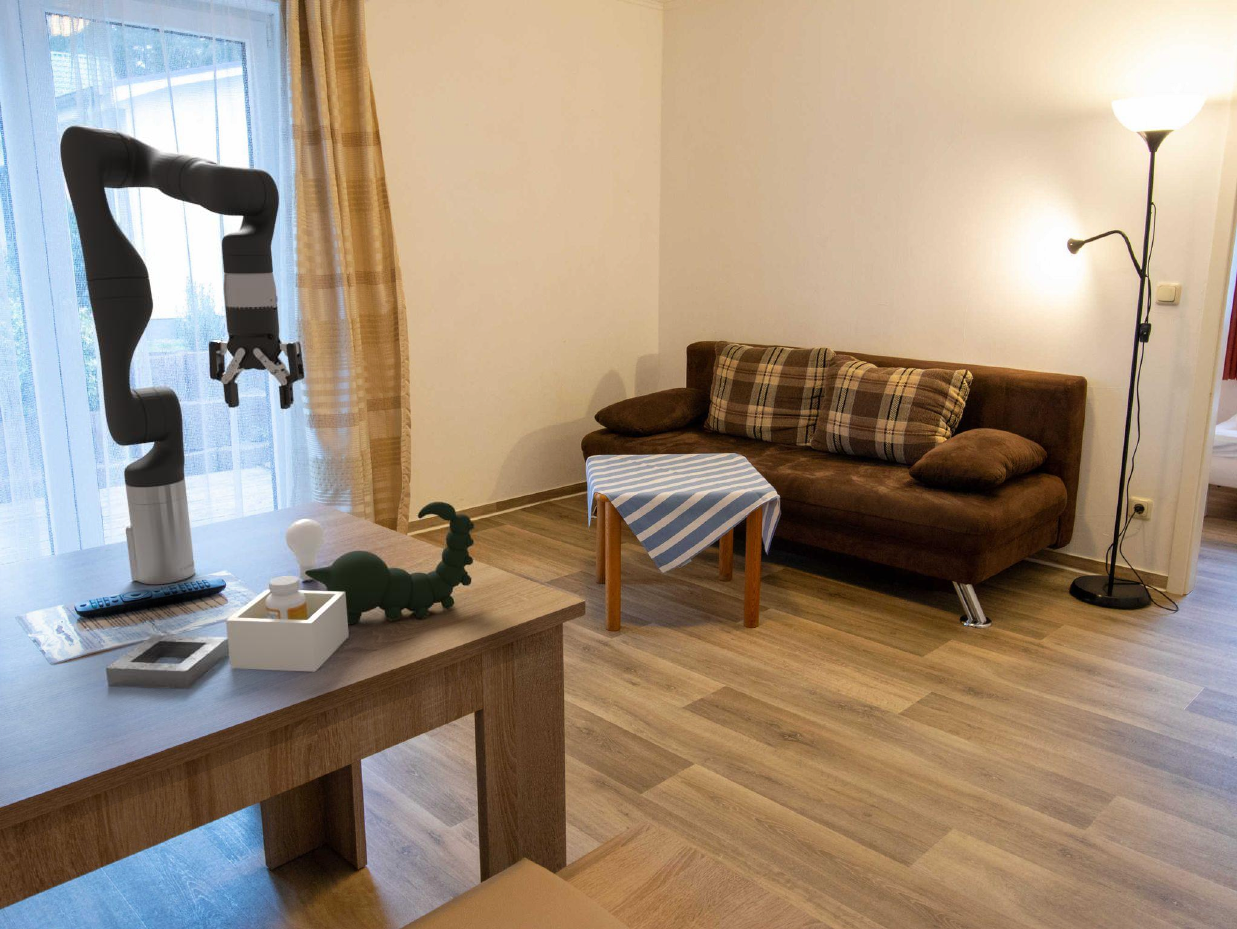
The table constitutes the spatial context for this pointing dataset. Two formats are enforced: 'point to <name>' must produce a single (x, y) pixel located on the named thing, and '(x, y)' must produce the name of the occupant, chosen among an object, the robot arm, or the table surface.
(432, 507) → the toy figurine
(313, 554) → the lightbulb
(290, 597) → the supplement bottle
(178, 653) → the socket collar
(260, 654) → the bin
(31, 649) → the table surface
